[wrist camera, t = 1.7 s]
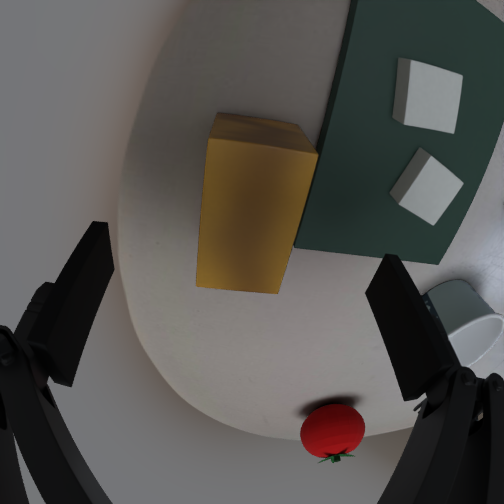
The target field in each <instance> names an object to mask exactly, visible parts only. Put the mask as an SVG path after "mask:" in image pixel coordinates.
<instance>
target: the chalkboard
mask: <svg viewBox="0 0 504 504" xmlns="http://www.w3.org/2000/svg"><path fill="white" fill-rule="evenodd" d="M398 58H405V59H410V60H414V61H418V62H422V63H425V64H429V65H432V66H436V67H439V68H442V69H445V70H448V71H451V72H454V73H457V74H460V75H462V76H463V79H462V88H461V95H460V102H459V109H458V115H457V121H456V126H455V131H454V134H452V133H447V132H442V131H437V130H432V129H427V128H421V127H415V126H409V125H404V124H402V123H400V122H399V121H397V120H395V119H394V118H392V116H393V108H394V99H395V90H396V80H397V68H398ZM503 122H504V23H503V22H502V21H501V20H500V19H499V18H497V17H496V16H495V15H494V14H493V13H491V12H490V11H489V10H488V9H486V8H485V7H484V6H482V5H481V4H480V3H478V2H477V1H476V0H351V5H350V10H349V15H348V19H347V24H346V29H345V33H344V38H343V42H342V47H341V51H340V56H339V60H338V64H337V69H336V73H335V77H334V81H333V86H332V90H331V94H330V98H329V102H328V106H327V110H326V114H325V118H324V122H323V126H322V130H321V134H320V138H319V141H318V145H317V149H316V152H317V153H318V159H317V163H316V167H315V170H314V174H313V177H312V181H311V185H310V188H309V192H308V195H307V199H306V202H305V206H304V209H303V213H302V216H301V220H300V223H299V226H298V230H297V233H296V237H295V240H294V243H293V245H294V248H300V249H309V250H318V251H326V252H335V253H344V254H352V255H361V256H369V257H377V258H383V257H384V255H385V253H387V254H395V255H398V256H399V258H400V260H402V261H411V262H419V263H427V264H435V265H439V263H440V261H441V260H442V258H443V256H444V254H445V253H446V251H447V249H448V247H449V246H450V244H451V242H452V240H453V238H454V236H455V235H456V233H457V231H458V229H459V227H460V225H461V223H462V221H463V219H464V217H465V215H466V213H467V211H468V209H469V207H470V205H471V203H472V201H473V199H474V196H475V194H476V192H477V190H478V188H479V185H480V183H481V181H482V178H483V176H484V174H485V171H486V169H487V166H488V164H489V161H490V159H491V156H492V153H493V151H494V148H495V145H496V143H497V140H498V137H499V134H500V131H501V128H502V125H503ZM419 147H421V148H422V149H423V150H425V151H426V152H427V153H429V154H430V155H431V156H433V157H434V158H435V159H436V160H438V161H439V162H440V163H441V164H442V165H444V166H445V167H446V168H447V169H448V170H450V171H451V172H452V173H453V174H454V175H455V176H456V177H458V178H459V179H460V180H461V181H462V182H463V183H464V184H463V185H462V187H461V188H460V190H459V191H458V193H457V194H456V196H455V197H454V198H453V200H452V201H451V203H450V204H449V205H448V207H447V208H446V210H445V211H444V212H443V214H442V215H441V216H440V218H439V219H438V221H437V222H436V223H435V224H434V226H433V225H431V224H430V223H428V222H427V221H425V220H423V219H422V218H420V217H419V216H417V215H415V214H414V213H412V212H410V211H409V210H407V209H405V208H404V207H402V206H400V205H399V204H398V203H397V202H396V201H395V199H394V198H393V197H392V196H391V195H390V191H391V190H392V188H393V187H394V185H395V184H396V182H397V181H398V179H399V178H400V176H401V175H402V173H403V172H404V170H405V169H406V167H407V166H408V164H409V163H410V161H411V159H412V158H413V156H414V155H415V153H416V152H417V150H418V148H419Z"/></svg>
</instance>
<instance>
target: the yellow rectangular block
mask: <svg viewBox="0 0 504 504" xmlns="http://www.w3.org/2000/svg"><path fill="white" fill-rule="evenodd" d="M317 159H318V153H317V152H316V150H315V149H314V147H313V146H312V144H311V143H310V141H309V140H308V138H307V137H306V136H305V134H304V133H303V131H302V130H301V129H300V127H299V126H298V125H296V124H291V123H285V122H280V121H274V120H268V119H261V118H255V117H248V116H240V115H233V114H224V113H217V115H216V117H215V120H214V123H213V126H212V129H211V132H210V135H209V138H208V144H207V152H206V162H205V171H204V182H203V192H202V203H201V215H200V228H199V242H198V257H197V273H196V286H197V287H205V288H215V289H225V290H235V291H246V292H258V293H270V294H278V292H279V289H280V286H281V282H282V279H283V276H284V273H285V270H286V266H287V263H288V260H289V256H290V253H291V250H292V247H293V243H294V240H295V237H296V233H297V230H298V226H299V223H300V220H301V216H302V213H303V209H304V206H305V202H306V199H307V195H308V192H309V188H310V185H311V181H312V177H313V174H314V170H315V167H316V163H317Z"/></svg>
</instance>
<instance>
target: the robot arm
mask: <svg viewBox="0 0 504 504" xmlns="http://www.w3.org/2000/svg"><path fill="white" fill-rule="evenodd" d="M113 272H114V264H113V257H112V250H111V243H110V236H109V229H108V223H107V222H97V221H93V222H92V223H91V225H90V226H89V228H88V229H87V231H86V232H85V234H84V235H83V237H82V239H81V240H80V242H79V243H78V245H77V246H76V248H75V250H74V251H73V253H72V254H71V256H70V258H69V259H68V261H67V263H66V264H65V266H64V268H63V269H62V271H61V273H60V275H59V277H58V278H57V280H56V282H55V283H50V282H45V283H44V284H42V286H40V287H39V288H38V289H37V290H36V292H35V294H34V295H33V297H32V299H31V302H30V303H29V304H28V306H27V310H25V312H24V314H23V316H22V318H21V320H20V322H19V324H18V326H17V328H16V330H15V332H14V334H13V333H12V331H11V330H10V329H9V328H8V327H6V326H2V325H0V504H29V501H28V498H27V494H26V491H25V487H24V483H23V479H22V476H21V471H20V467H19V463H18V458H17V452H16V447H15V441H14V436H15V439H16V441H17V444H18V446H19V449H20V451H21V454H22V456H23V459H24V461H25V463H26V465H27V467H28V469H29V472H30V474H31V476H32V478H33V480H34V482H35V484H36V486H37V488H38V490H39V492H40V494H41V496H42V498H43V500H44V501H45V503H46V504H112V502H111V501H110V499H109V498H108V496H107V495H106V494H105V492H104V491H103V489H102V488H101V486H100V485H99V483H98V481H97V480H96V478H95V477H94V475H93V473H92V472H91V470H90V469H89V467H88V465H87V464H86V462H85V460H84V458H83V457H82V455H81V453H80V451H79V449H78V448H77V446H76V444H75V442H74V440H73V438H72V436H71V434H70V432H69V430H68V428H67V426H66V424H65V422H64V420H63V418H62V416H61V414H60V412H59V409H58V407H57V405H56V402H55V400H54V398H53V395H52V393H51V391H50V389H49V386H48V384H47V381H48V377H49V376H50V377H51V378H52V380H53V381H54V383H58V384H61V385H65V386H68V387H72V384H73V381H74V377H75V374H76V371H77V368H78V365H79V361H80V358H81V355H82V352H83V349H84V346H85V344H86V341H87V338H88V335H89V332H90V329H91V326H92V324H93V321H94V318H95V316H96V313H97V311H98V308H99V306H100V303H101V301H102V298H103V296H104V293H105V291H106V288H107V286H108V283H109V281H110V279H111V276H112V274H113ZM365 294H366V297H367V299H368V302H369V304H370V307H371V309H372V312H373V314H374V317H375V319H376V322H377V325H378V327H379V330H380V332H381V335H382V338H383V341H384V343H385V346H386V349H387V352H388V354H389V357H390V360H391V363H392V366H393V369H394V372H395V375H396V378H397V381H398V384H399V387H400V390H401V393H402V396H403V400H404V401H410V400H415V399H418V398H419V397H420V396H421V395H422V394H424V393H426V396H427V398H426V399H424V400H423V401H422V402H421V403H420V404H418V405H417V406H416V407H415V408H414V411H416V410H417V409H419V408H420V407H421V409H420V411H419V412H418V413H419V414H418V417H417V420H416V422H415V425H414V427H413V430H412V433H411V435H410V437H409V440H408V442H407V444H406V447H405V449H404V452H403V454H402V456H401V458H400V460H399V462H398V465H397V466H396V469H395V471H394V473H393V475H392V477H391V479H390V481H389V483H388V485H387V486H386V488H385V490H384V492H383V494H382V496H381V497H380V499H379V501H378V503H377V504H504V380H503V378H502V377H501V376H500V375H498V374H497V373H492V374H490V375H489V376H488V377H487V378H486V379H482V378H478V377H476V375H475V374H474V372H473V371H472V370H471V369H470V368H468V367H466V366H461V364H460V361H459V359H458V357H457V355H456V353H455V350H454V348H453V346H452V344H451V342H450V340H449V338H448V336H447V334H446V333H445V330H444V328H443V326H442V324H441V322H440V321H439V320H438V319H437V318H436V316H435V315H434V314H430V312H429V310H428V308H427V306H426V304H425V302H424V300H423V298H422V297H421V295H420V293H419V291H418V289H417V287H416V286H415V284H414V282H413V280H412V279H411V277H410V275H409V273H408V272H407V270H406V268H405V267H404V265H403V263H402V261H401V260H400V258H399V256H398V255H395V254H387V253H385V255H384V257H383V259H382V261H381V263H380V265H379V267H378V269H377V271H376V273H375V275H374V277H373V279H372V281H371V283H370V285H369V287H368V288H367V290H366V292H365ZM482 412H483V418H482V419H481V420H479V421H478V415H480V414H481V413H482ZM13 433H14V435H13Z"/></svg>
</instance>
